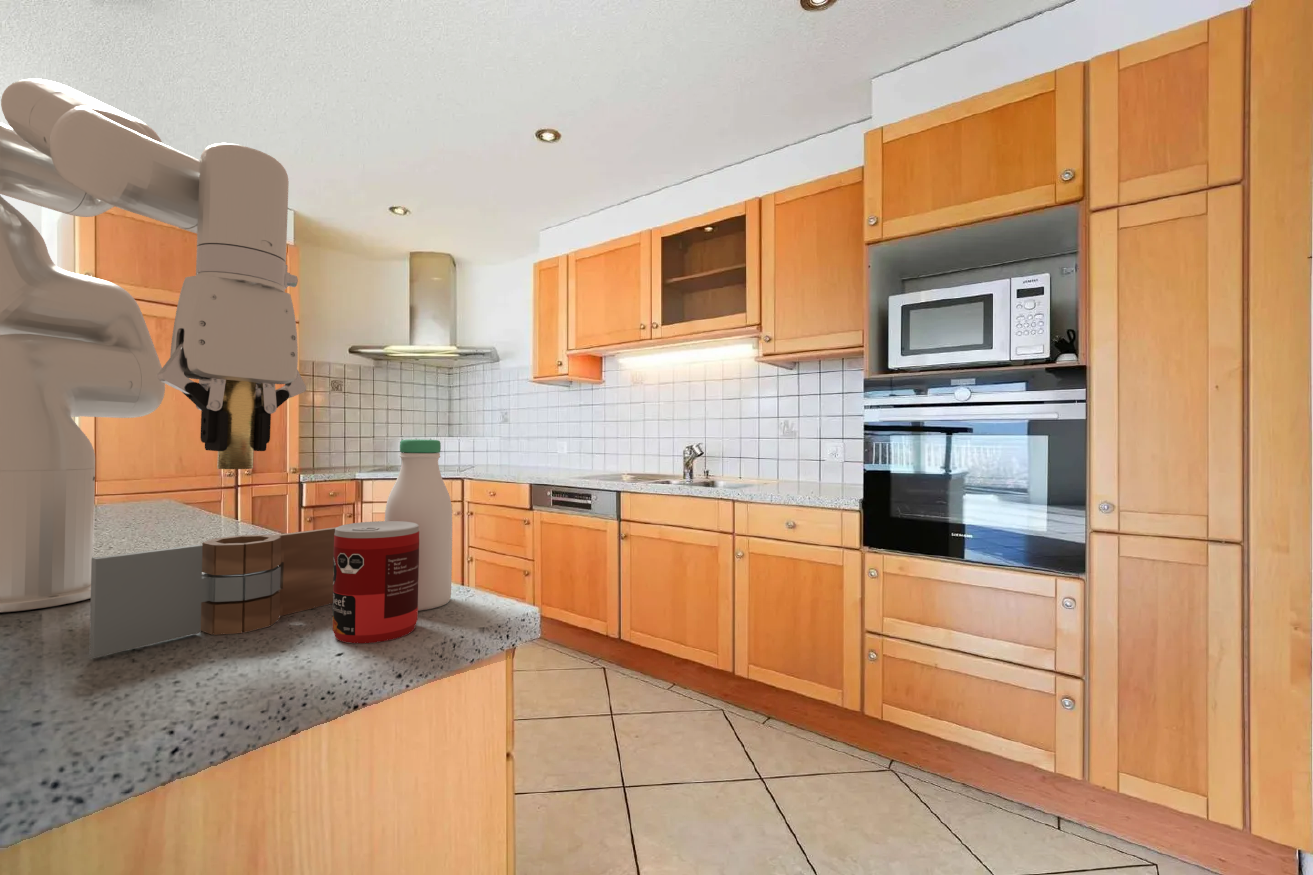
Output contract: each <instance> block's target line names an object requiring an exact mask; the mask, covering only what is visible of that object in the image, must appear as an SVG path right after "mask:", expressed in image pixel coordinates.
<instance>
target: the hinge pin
mask: <svg viewBox="0 0 1313 875" xmlns="http://www.w3.org/2000/svg"><path fill="white" fill-rule="evenodd" d="M255 398H256V382H248V381H235V380H226V383H225V390H224V397H223V403H222V405H223V411H227V413H228V434H227V449H226V450H224V451H217V466H216V469H217V470H251V469H254V452H255V451H254V427H255Z"/></svg>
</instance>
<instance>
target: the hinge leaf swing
mask: <svg viewBox="0 0 1313 875" xmlns="http://www.w3.org/2000/svg"><path fill="white" fill-rule="evenodd" d="M280 574H281V567H280V566H277V567H275V568H273V569H271V570H265V571H259V572H253V573H247V574H245V573H244V574H233V575H211V574H207V573H203V572H202V544H201V545H200V544H191V545H185V546H176V547H169V548H167V547H166V548H159V549H151V550H144V551H135V552H128V553H121V554H120V553H118V554H113V555H104V556H97V557H96V556H95V557H93V558H92V562H91V598H90V610H89V611H90V612H89V615H90V616H89V617H90V619H89V653H88V656H89V657H91V658H93V659H95V658H98V657H103V656H107V655H112V654H116V653H120V652H124V651H129V650H133V649H138V648H141V647H144V646H151V645H153V644H157V643H158V644H159V643H161V642H166V641H170V640H173V639H174V640H175V639H178V638H182V637H188V636H192V635H195V634H200V633H201V602H206V601H211V602H225V601H243V600H249V599H254V598H258V597H263V596H268V595H271V594H273V593H275V592H276V591H278V590H279V589H280Z"/></svg>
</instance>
